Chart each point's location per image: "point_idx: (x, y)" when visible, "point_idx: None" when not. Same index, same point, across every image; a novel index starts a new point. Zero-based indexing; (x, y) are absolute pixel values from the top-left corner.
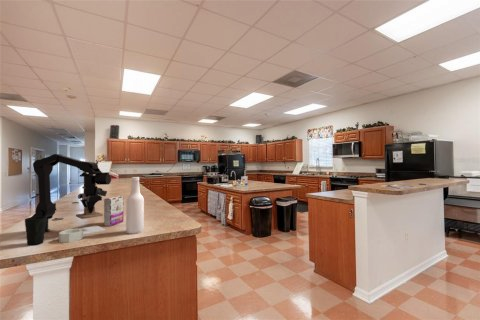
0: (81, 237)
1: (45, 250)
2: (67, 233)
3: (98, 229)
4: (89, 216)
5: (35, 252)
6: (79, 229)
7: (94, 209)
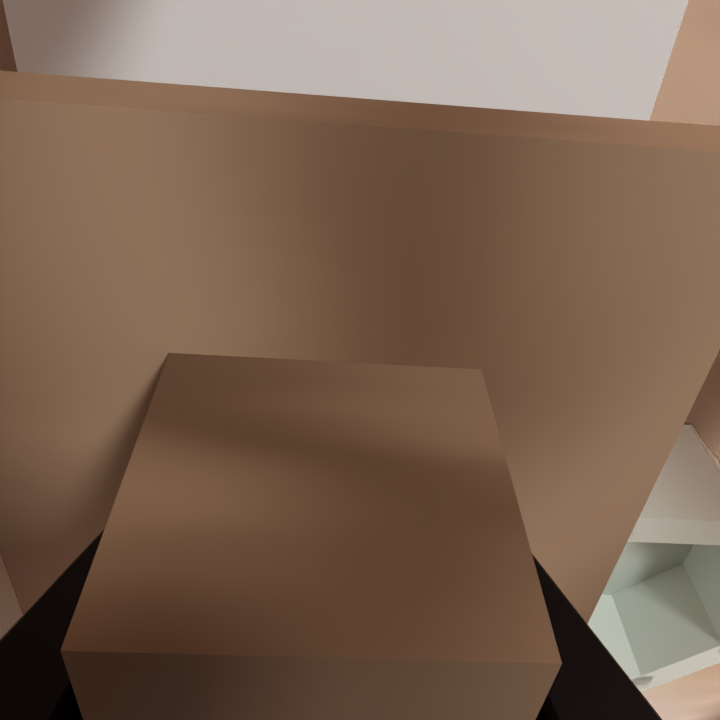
0: (715, 460)
1: (702, 683)
2: (695, 656)
3: (511, 93)
4: (619, 540)
5: (669, 716)
6: (653, 538)
7: (520, 542)
